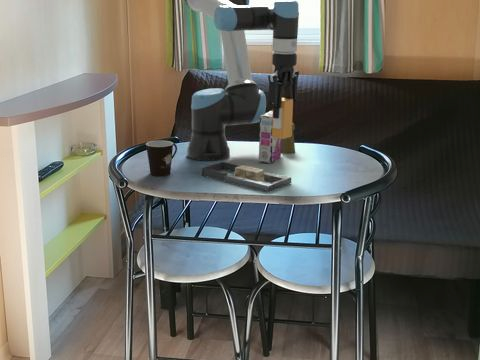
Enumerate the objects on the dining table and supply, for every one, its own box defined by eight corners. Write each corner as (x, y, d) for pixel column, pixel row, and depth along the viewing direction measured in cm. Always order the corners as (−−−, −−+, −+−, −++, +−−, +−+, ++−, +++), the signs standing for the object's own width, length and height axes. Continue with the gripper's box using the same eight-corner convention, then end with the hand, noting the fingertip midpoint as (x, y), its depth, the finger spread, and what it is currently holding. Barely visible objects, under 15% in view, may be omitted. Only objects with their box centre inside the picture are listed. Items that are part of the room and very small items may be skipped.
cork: (284, 148, 251) (285, 119, 248) (298, 151, 248) (299, 121, 245) (275, 152, 247) (276, 122, 243) (289, 154, 243) (290, 124, 240)
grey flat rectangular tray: (224, 181, 210) (224, 175, 210) (248, 173, 219) (248, 167, 219) (268, 192, 200) (268, 186, 199) (291, 183, 209) (291, 177, 208)
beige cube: (234, 180, 213) (234, 167, 211) (242, 177, 216) (242, 165, 214) (244, 182, 210) (244, 170, 209) (252, 179, 213) (252, 167, 212)
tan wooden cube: (246, 182, 210) (246, 170, 209) (253, 179, 213) (254, 167, 212) (256, 185, 207) (256, 172, 206) (264, 182, 210) (264, 169, 209)
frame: (201, 175, 217) (201, 168, 216) (223, 168, 225) (223, 161, 224) (225, 181, 211) (225, 173, 210) (246, 174, 219) (246, 166, 218)
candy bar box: (272, 164, 230) (273, 116, 226) (258, 162, 232) (259, 115, 227) (281, 156, 240) (283, 111, 236) (268, 155, 242) (269, 110, 237)
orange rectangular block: (271, 136, 215) (273, 99, 211) (280, 134, 218) (281, 97, 214) (283, 139, 212) (284, 101, 208) (291, 136, 215) (293, 99, 212)
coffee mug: (152, 178, 213) (151, 148, 210) (143, 172, 220) (142, 142, 217) (186, 174, 218) (186, 144, 215) (176, 167, 225) (175, 138, 222)
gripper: (277, 56, 198) (275, 133, 205) (310, 51, 211) (307, 123, 218) (257, 53, 203) (255, 129, 210) (290, 48, 216) (288, 120, 223)
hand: (282, 126), depth 214 cm, fingers closed on orange rectangular block, 4 cm apart
